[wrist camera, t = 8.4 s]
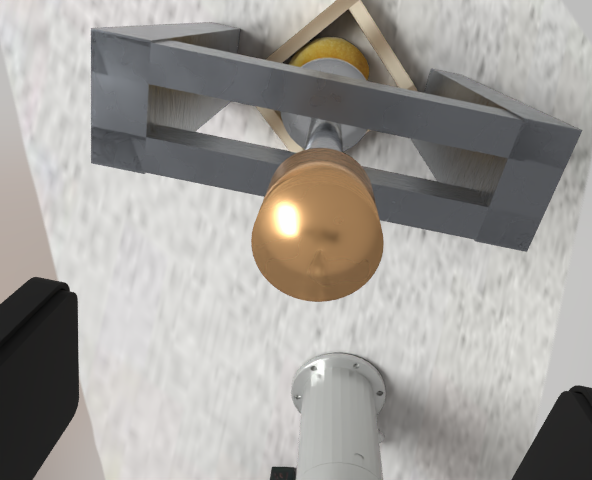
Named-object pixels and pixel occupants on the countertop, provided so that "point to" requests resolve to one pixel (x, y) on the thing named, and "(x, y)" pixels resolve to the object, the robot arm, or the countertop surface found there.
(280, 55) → the cradle
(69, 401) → the robot arm
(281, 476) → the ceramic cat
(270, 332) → the countertop surface
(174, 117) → the frame
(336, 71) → the plunger
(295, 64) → the bread roll
